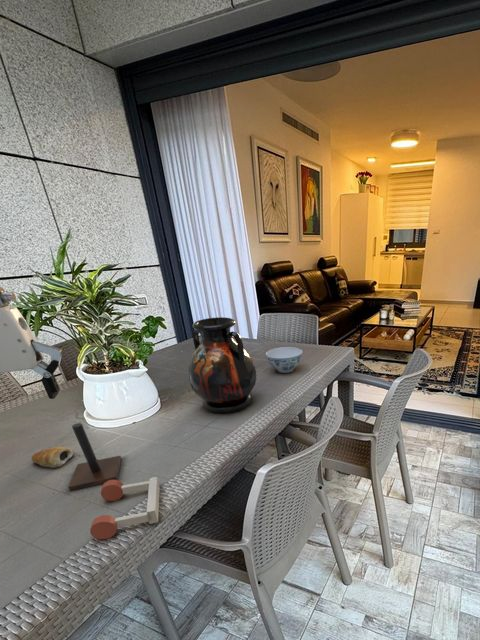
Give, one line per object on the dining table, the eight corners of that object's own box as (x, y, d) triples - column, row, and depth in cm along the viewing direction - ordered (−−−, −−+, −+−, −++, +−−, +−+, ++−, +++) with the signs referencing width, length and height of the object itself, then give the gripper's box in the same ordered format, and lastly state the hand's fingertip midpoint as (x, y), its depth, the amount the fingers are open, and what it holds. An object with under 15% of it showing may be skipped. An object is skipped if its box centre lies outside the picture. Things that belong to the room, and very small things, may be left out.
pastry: (26, 467, 91) (20, 455, 89) (47, 453, 97) (41, 441, 95) (59, 469, 90) (53, 456, 88) (77, 454, 96) (72, 442, 94)
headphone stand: (70, 491, 82) (45, 440, 75) (79, 467, 90) (57, 419, 84) (117, 480, 85) (97, 430, 78) (122, 459, 93) (104, 412, 86)
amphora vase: (182, 411, 117) (160, 326, 103) (224, 388, 134) (210, 312, 120) (233, 423, 108) (217, 332, 95) (271, 396, 125) (262, 316, 112)
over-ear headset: (87, 524, 66) (154, 511, 70) (99, 481, 77) (156, 472, 81) (93, 541, 68) (158, 527, 72) (104, 497, 80) (160, 487, 83)
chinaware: (302, 376, 142) (300, 357, 138) (265, 377, 142) (263, 358, 139) (304, 363, 155) (303, 346, 151) (270, 364, 155) (268, 347, 152)
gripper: (47, 294, 61) (82, 385, 69) (-79, 302, 56) (-25, 400, 64) (32, 301, 55) (73, 400, 63) (-111, 311, 50) (-46, 417, 58)
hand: (23, 400), depth 64 cm, fingers open, 9 cm apart
